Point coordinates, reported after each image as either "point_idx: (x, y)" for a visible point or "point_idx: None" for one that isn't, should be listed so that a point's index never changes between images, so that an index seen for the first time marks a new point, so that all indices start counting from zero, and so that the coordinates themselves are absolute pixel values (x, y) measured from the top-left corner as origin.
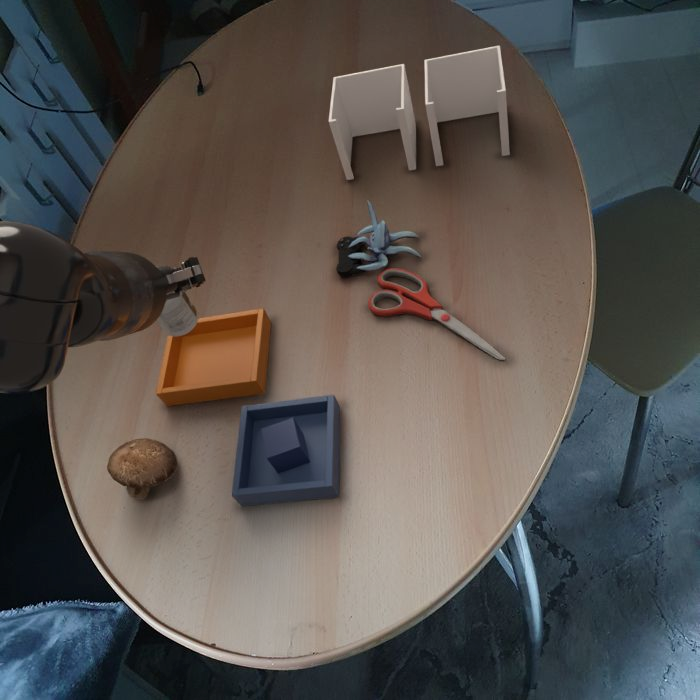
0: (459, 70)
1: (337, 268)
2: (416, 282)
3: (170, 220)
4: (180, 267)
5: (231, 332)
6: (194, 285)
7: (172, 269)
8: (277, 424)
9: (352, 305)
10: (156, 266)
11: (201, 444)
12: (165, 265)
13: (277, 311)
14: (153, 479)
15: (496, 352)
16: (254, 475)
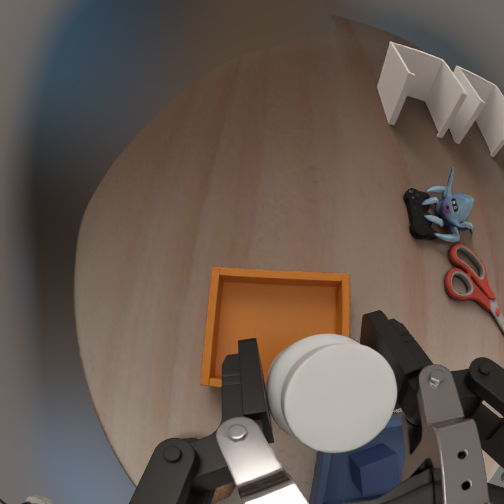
0: (471, 84)
1: (414, 227)
2: (476, 264)
3: (202, 119)
4: (451, 374)
5: (293, 290)
6: (492, 453)
7: (463, 416)
8: (379, 462)
9: (427, 277)
10: (360, 345)
11: None
12: (477, 432)
13: (347, 267)
14: (218, 501)
15: None
16: (327, 484)
